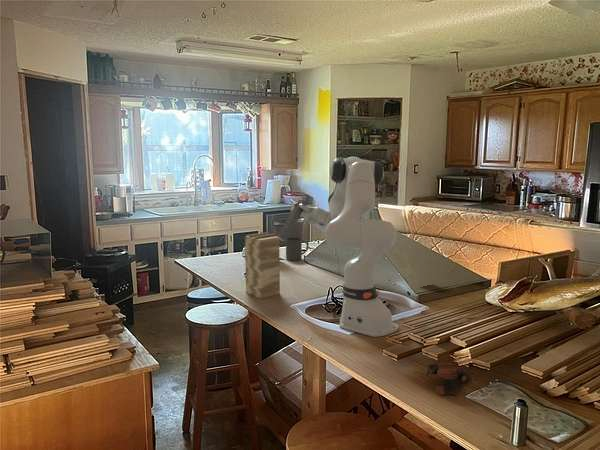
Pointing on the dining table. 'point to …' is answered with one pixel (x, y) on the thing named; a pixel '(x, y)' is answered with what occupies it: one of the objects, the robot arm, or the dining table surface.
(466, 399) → the dining table surface
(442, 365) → the pottery mug
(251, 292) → the maple stand
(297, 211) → the steel block
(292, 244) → the mug
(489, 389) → the dining table surface
